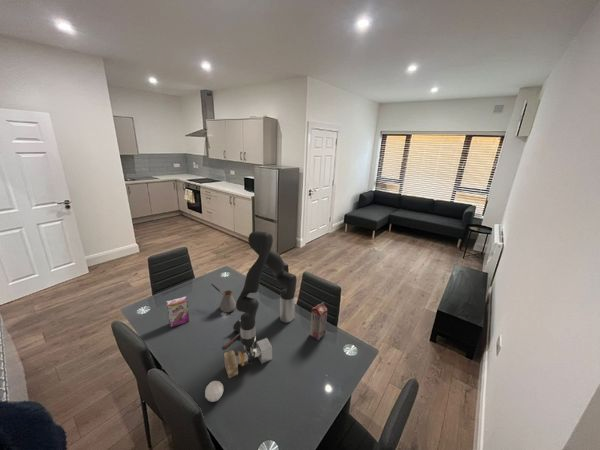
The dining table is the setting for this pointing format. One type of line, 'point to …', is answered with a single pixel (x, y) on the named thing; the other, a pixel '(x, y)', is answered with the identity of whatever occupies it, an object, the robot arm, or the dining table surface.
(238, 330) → the coffee pot
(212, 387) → the geometric ball
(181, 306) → the candy bar box
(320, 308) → the juice carton
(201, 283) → the dining table surface
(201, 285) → the dining table surface
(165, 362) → the dining table surface
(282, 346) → the dining table surface
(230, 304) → the coffee pot
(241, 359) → the tube
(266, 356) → the grey block
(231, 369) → the socket
